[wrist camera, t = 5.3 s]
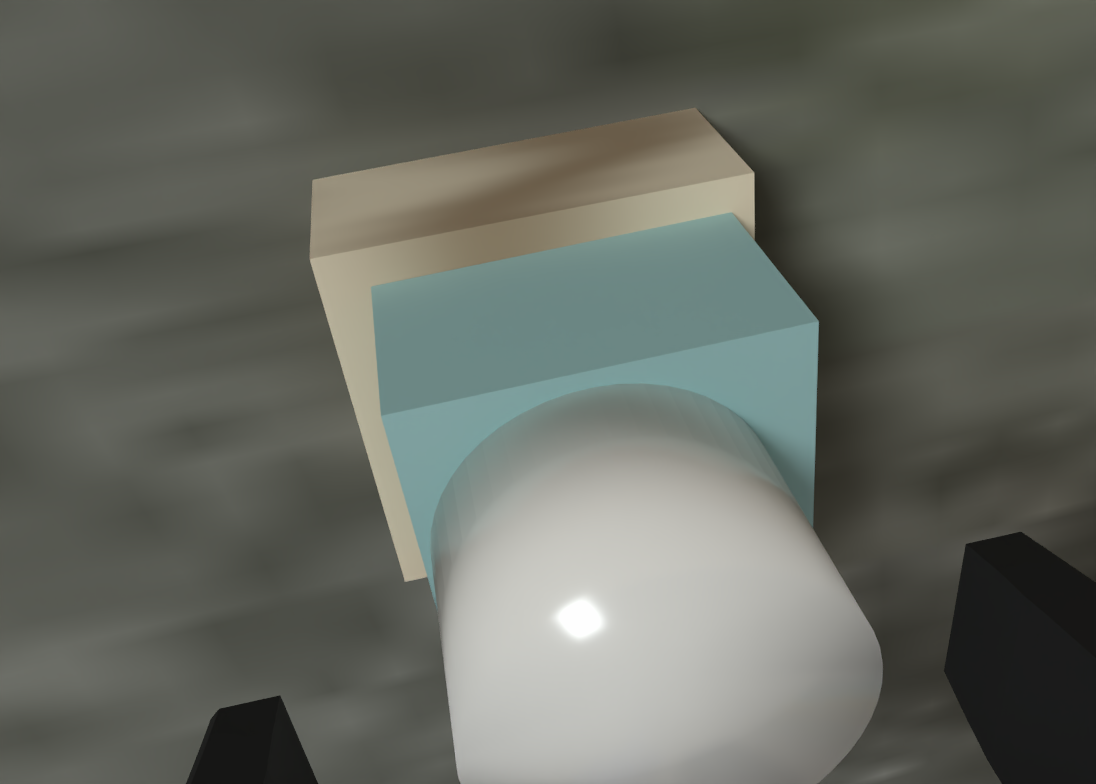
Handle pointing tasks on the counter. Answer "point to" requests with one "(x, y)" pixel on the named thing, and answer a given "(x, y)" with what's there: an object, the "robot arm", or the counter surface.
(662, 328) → the teal block
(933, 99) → the counter surface
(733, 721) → the stoneware puck
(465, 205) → the beech block
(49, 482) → the counter surface
